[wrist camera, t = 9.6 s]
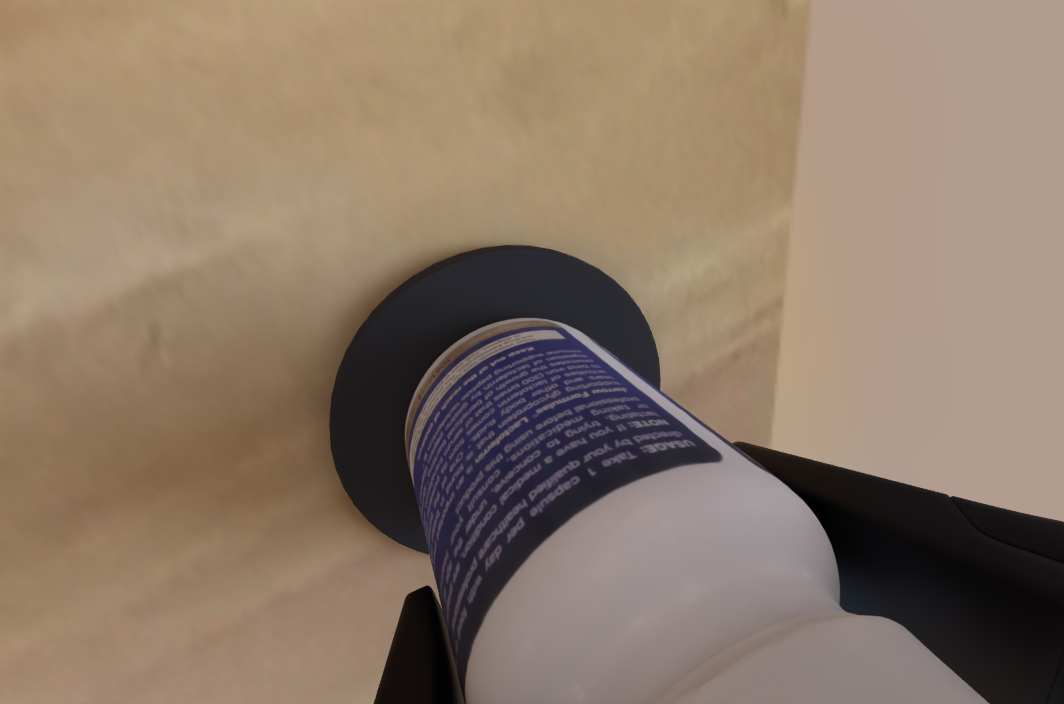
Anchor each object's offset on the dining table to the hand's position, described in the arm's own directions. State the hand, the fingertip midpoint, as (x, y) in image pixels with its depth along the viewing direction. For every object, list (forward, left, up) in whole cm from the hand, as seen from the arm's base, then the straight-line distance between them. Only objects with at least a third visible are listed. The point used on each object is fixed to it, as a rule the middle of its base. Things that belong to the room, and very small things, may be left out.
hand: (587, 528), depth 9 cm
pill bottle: (0, 0, -5) cm, 5 cm away
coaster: (0, 0, -5) cm, 5 cm away
